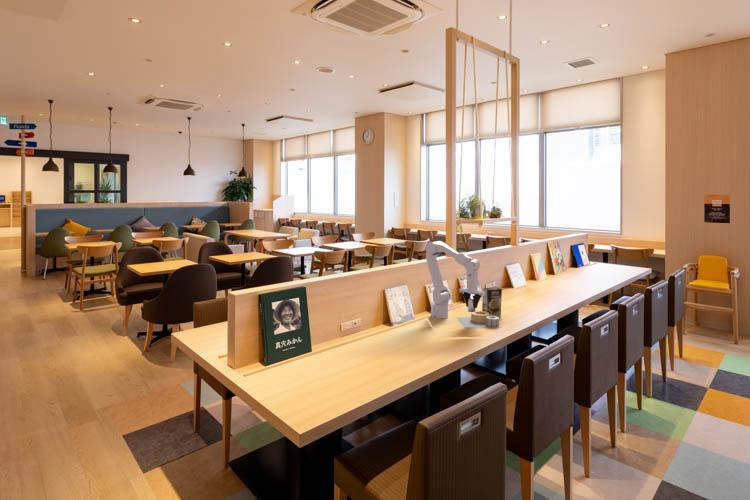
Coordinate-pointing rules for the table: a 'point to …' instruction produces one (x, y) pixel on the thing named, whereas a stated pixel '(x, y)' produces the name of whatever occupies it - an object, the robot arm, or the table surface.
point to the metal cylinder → (471, 305)
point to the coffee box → (492, 301)
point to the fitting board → (473, 324)
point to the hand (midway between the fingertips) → (471, 307)
